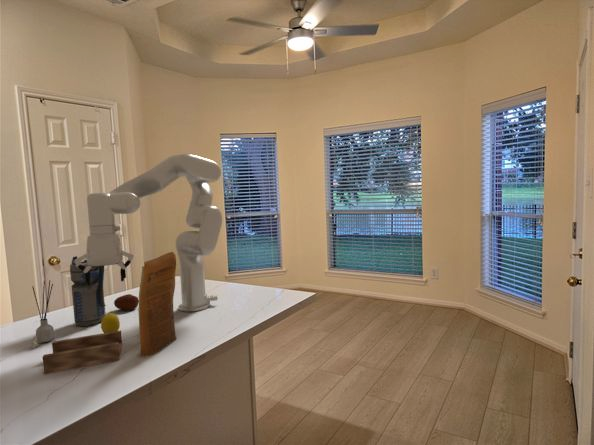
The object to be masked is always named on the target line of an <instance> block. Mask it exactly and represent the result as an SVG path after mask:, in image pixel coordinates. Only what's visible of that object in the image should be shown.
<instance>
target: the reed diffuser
mask: <svg viewBox="0 0 594 445" xmlns="http://www.w3.org/2000/svg"><path fill="white" fill-rule="evenodd" d="M45 283H46V282H45V280H43V288H42V289H43V291H42V308H41V309H42V310H41V311H42V312H41V311H40V308H39V302H38V300H37V299H38V298H37V295H36V291H35V288H34V285H32V291H33V294H34V295H33V296H34V299H35V302H36V306H37V309H38V314H39V317H40V320H39V322H40V325H39V326H38V327H37V328H36V329H35V337H36V340H35V341H31V342H30V344H29V348H30V349H35V348H37V347H39V346H40V343H46V342H51V341H52V340H54V339H55V333H54V332H55V330H54V326H53V325H52V324H49V323H48V318H47V312H48V306H49V302H50V299H51V298H50V297H51V294H52V290H53V286H54V284H53V283H51V280H49V282H48V289H47V298H46V307H45V311H44V304H45V286H46V284H45ZM50 286H51V287H50ZM41 314H42V315H41Z"/></svg>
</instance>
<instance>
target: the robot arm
mask: <svg viewBox="0 0 594 445" xmlns="http://www.w3.org/2000/svg"><path fill="white" fill-rule="evenodd" d="M221 170H222V169H221V167H220V165H219V164H218V163H217V162H215V161H213V160H211V159H208V158H204V157H201V156H198V155H195V154H191V153H181V154H174V155H170V156H168V157H167V158H164V160H162V161H160V162H159V163H158V164H156V165H155V166H153V167H151V168H150V169H148V170H147V171H145V172H144V173H141V174H140V175H137V176H135V177H134V178H131V179H130V180H128V181H126V182H124V183H122V184H120V185H119V186H118V187H115V188H114V189H112V190H111V191H109V192H93V193H90V194H88V195H87V197H86V202H87V214H88V216H87V217H88V218H87V219H88V230H89V231H88V232H89V235H87V238H86V251H85V252H86V253H84V254H82V255H80V256H79V257H77V259H75V260H74V262H75V264H76V265H77V266H78V268H79V269H80V270H82V271H83V272H84V273H85V279H86V282H88V285H91V283H92V277H91V272H90V269H91V267H92V266H104V267H105V266H113V265H118V266H119V267H120V271H119V272H120V282H124V281H125V279H126V278H127V274H126V269H127V267H129V265H130V264H131V262H132V260H133V259H134V257H135V256H134V254H133V253H130V252H127V251H124V250H122V243H121V239H120V235H119V234H118V233H116V232H118V231H121V226H117V225H116V221H115V220H116V219H115V218H116V217H115V215H129V214H130V215H131V214H134V213H136V212H137V211H138V210H139V209H140V207H141V200H140V199H141V198H144V197H147V196H152V195H154V194H158V193H160V192H162V191H163V190H164V189H166V188H168V186H170V185H172V184H173V183H174V182H175V181H177V180H179V178H181V177H182V178H183V177H185V178H186V181H187V182H188V184H189V185H190V187H191V193H192V194H191V200H190V201H189V202H190V203H189V206H188V210H187V213H186V217H185V222H186V225H187V226H188V228H191V229H196V230H185V231H182V232H180V233H179V234H178V235H177V237H176V239H175V248H176V252H177V257H178V264H179V276H180V290H181V291H180V293H181V303H180V304H179V305H178V306H177V307H178V308H177V309H178V310H179V311H180V312H198V311H202V310H205V309H208V308H209V307H210V306H211V302H212V301H213V302H214V301H218V296H217V295H213V294H212V295H207V294H206V283H205V282H206V279H205V265H204V264H205V263H204V260H203V257H202V256H204V257H205V256H209V255H211V254H213V252H214V251H215V250H216V247H217V243H218V240H219V235H220V232H221V229H222V225H223V215H222V212H221V209H219V208H218V207H217V206H215V205H212V203H213V199H214V198H213V197H214V194H213V189H212V188H211V186H210V183H216V182H217V181H218V180H220V178H221V176H222V171H221ZM198 229H199V230H198ZM123 256H124V257H126V258H127V260H126V261H125V262H123V261H122V260H123ZM84 260H87V265H88V266H87V267H85V266H84V265H82V264H81V262H83V261H84Z"/></svg>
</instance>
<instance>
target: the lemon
mask: <svg viewBox="0 0 594 445" xmlns="http://www.w3.org/2000/svg"><path fill="white" fill-rule="evenodd" d="M120 326H121V322H120V318H119V316H118V315H116V313H112V312H108V313H107V314H106V315H105V316H104V317H103V319H102V321H101V322H100V328H101V331H102V333H108V332H115V331H119V329H120Z"/></svg>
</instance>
